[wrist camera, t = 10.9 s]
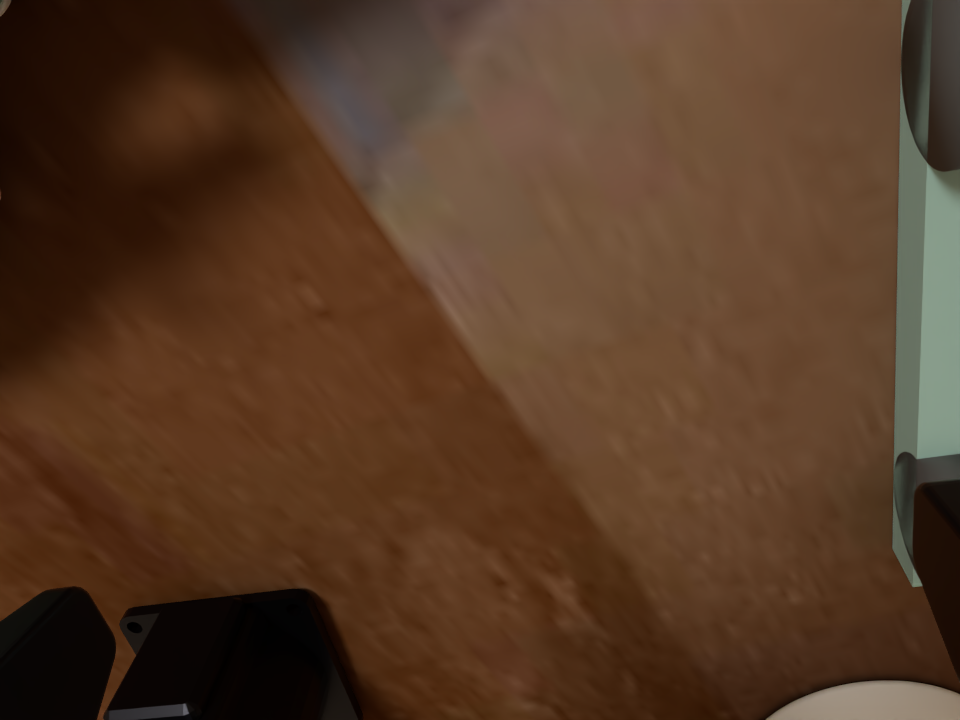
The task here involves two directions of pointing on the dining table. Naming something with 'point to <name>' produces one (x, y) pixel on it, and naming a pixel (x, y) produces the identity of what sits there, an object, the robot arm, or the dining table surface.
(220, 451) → the dining table surface
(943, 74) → the chassis
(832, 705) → the wineglass
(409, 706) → the dining table surface
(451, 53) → the dining table surface
